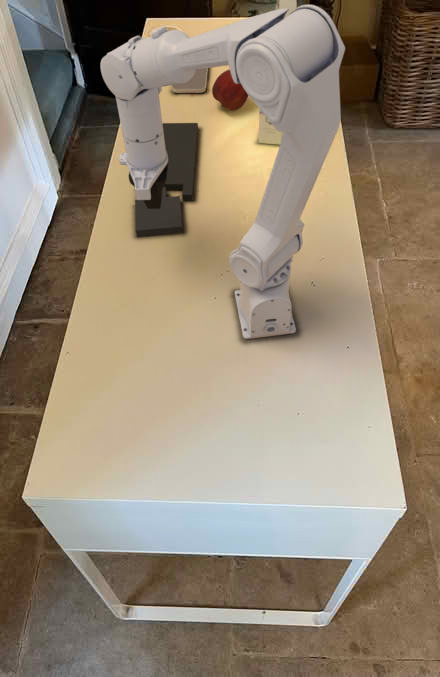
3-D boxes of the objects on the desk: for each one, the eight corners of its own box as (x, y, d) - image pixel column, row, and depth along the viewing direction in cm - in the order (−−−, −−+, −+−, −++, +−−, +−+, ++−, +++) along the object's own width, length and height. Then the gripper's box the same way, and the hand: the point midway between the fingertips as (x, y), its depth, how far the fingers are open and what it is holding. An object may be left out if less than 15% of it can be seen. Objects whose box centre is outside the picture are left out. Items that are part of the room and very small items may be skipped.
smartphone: (209, 53, 138) (205, 89, 129) (209, 57, 139) (205, 93, 130) (176, 54, 138) (171, 89, 129) (177, 57, 139) (171, 93, 130)
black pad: (192, 201, 109) (192, 194, 108) (137, 201, 110) (136, 195, 108) (198, 129, 122) (197, 122, 121) (149, 129, 123) (148, 123, 121)
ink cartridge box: (264, 118, 124) (266, 48, 112) (288, 120, 123) (293, 50, 111) (257, 143, 119) (259, 72, 107) (282, 146, 118) (286, 74, 106)
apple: (250, 117, 124) (250, 81, 118) (212, 118, 124) (210, 81, 118) (249, 97, 129) (249, 61, 122) (213, 98, 129) (211, 61, 122)
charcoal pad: (182, 232, 104) (182, 226, 103) (136, 236, 104) (135, 230, 103) (179, 192, 111) (178, 185, 110) (136, 195, 110) (134, 189, 109)
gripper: (120, 101, 89) (133, 176, 99) (107, 163, 80) (123, 238, 91) (168, 100, 88) (176, 176, 99) (160, 162, 80) (170, 237, 90)
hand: (154, 205), depth 95 cm, fingers closed
